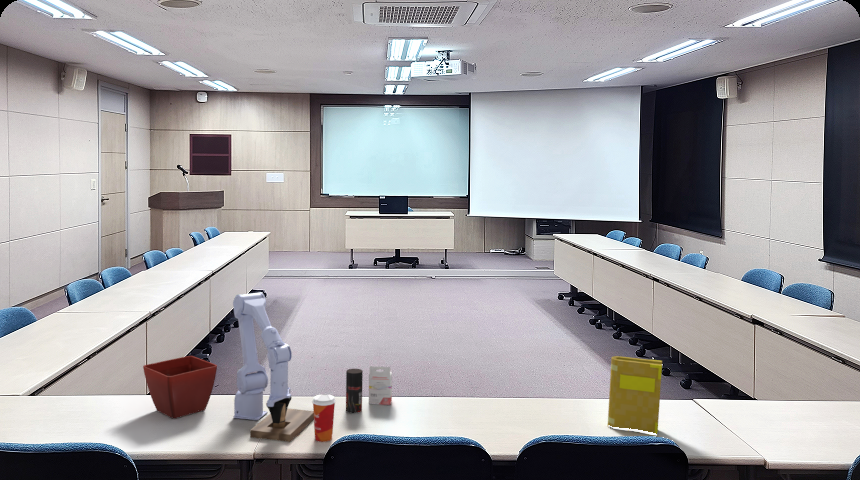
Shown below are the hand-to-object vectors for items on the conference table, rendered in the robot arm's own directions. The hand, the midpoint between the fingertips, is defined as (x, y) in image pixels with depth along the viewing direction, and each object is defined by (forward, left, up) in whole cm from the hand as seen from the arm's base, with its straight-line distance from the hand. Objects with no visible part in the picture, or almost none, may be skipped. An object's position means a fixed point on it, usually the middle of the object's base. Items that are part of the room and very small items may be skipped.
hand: (279, 420), depth 226 cm
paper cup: (+16, -2, -4) cm, 17 cm away
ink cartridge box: (+25, +37, -4) cm, 45 cm away
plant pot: (-42, +9, -4) cm, 43 cm away
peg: (0, 0, -2) cm, 2 cm away
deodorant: (+18, +26, -4) cm, 32 cm away
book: (+118, +35, -4) cm, 123 cm away
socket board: (0, +4, -4) cm, 6 cm away
